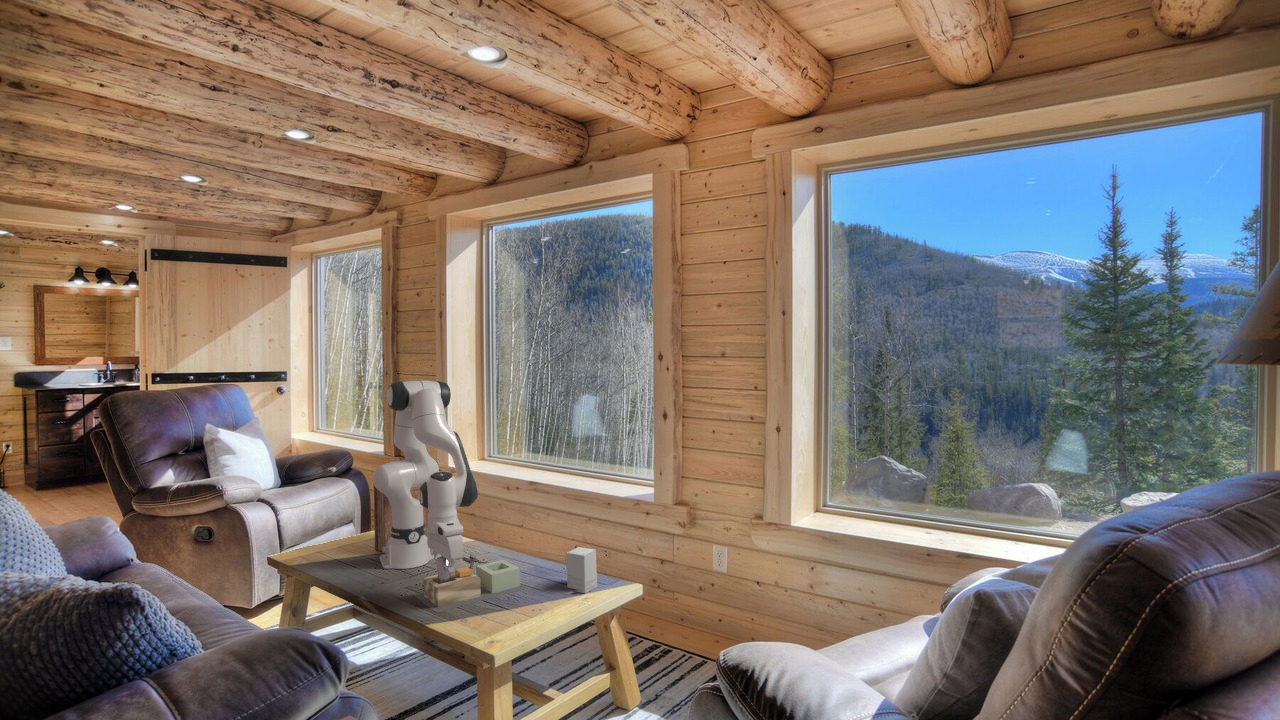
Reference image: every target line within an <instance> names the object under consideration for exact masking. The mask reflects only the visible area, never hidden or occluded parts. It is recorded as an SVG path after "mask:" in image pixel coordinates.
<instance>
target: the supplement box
mask: <svg viewBox="0 0 1280 720" xmlns="http://www.w3.org/2000/svg"><path fill="white" fill-rule="evenodd" d="M565 554H566V582H567V583H566V584H567V585H566V586H567V588H568V589H573V592H575V591H576V593H580V592H581V593H582V594H587V593H588V592H590V591H592V590H594V589H596V588H597V587H598V573H597V569H598V568H597V549H595V548H589V547H588V548H587V547H580V546H578V547H575V548H573V549H571V550H570V551H567V552H565ZM581 593H580V594H581Z"/></svg>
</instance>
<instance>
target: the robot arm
mask: <svg viewBox="0 0 1280 720" xmlns="http://www.w3.org/2000/svg"><path fill="white" fill-rule="evenodd" d="M451 394H452V393H451V389H450V386H449V384H448V383H446V382H444V381H440V380H439V381H438V380H437V381H434V380H426V379H425V380H423V379H421V380H420V379H419V380H409V381H402V380H401V381H395V382H392V383H391V384H390V385H389V386H388V389H387V391H386V401H387V404H388V407H389V408H390V409H391V410H393V411H396V413H395V418H394V419H395V420H394V430H393V431H394V433H393V443H394V446H395V447H396V448H397V449H398V450H400V451H402V452H404V458H403V459H402V460H396V461H389V462H387V463H383V464H381V465H379V466H377V467H376V468H375V470H374V472H373V474H372V483H373V487H374V486H375V487H376V489H377V490H379V491H380V492H382V493H383V494H384V495H385V496H386V497H387V498H388V500H389V502H390V505H391V510H392V524H393V526H392V528H391V538H390V539H389V540H388V542H387V543H386V547H382V551H383V552H382V551H381V552H382V554H381V555H379V561H380V563H381V566H382V568H383V569H384V570H385V569H395V570H396V569H399V570H401V569H402V570H403V569H413V568H417V567H421V566H424V565H426V564H428V563H429V562H430V561H432V560H433V559H434V561H435V565H437V558H438V557H440V556H443V557H445V558H447V561H448V566H447V571H448V572H453V571H455V563H456V561H457V560H460V559H461V558H462V555H463V536H462V534H463V533H464V526H463V525H462V524H461V522H460V520H459V518H458V511H457V507H459V508H462V507H463V508H465V507H467V508H468V507H471V506H472V505H473V504H474V503H475V502H476V500H477V499H478V497H479V496H478V495H479V489H478V484H477V482H476V480H475V478H474V475H473V472H472V469H471V467H470V464H469V461H468V458H467V454H466V451H465V448H464V446H463V443H462V440H461V438H460V435H459V433H458V432H457V431H454V430H452V429H451V427H450V425H449V424H448V422H447V416H446V408H447V407H448V406H449V405H450V403H451V400H452V399H451V398H452V395H451ZM427 447H431V448H434V449H439V450H442V451H444V452H446V453H448V455H450V456H451V458H452V461H453V465H454V467H455V471H456V474H457V476H456V477H455V476H454V474H453V473H451V472H447V471H442V472H439V470H440V468H439V464H438V462H437V461H436V460H435V459H434V458H433V457H432V456H431V455H430V454H429V452H428V450H427ZM420 486H421V487H420ZM415 487H420V501H419V500H418V499H415V498H413V497H412V496H411V492H410V488H415ZM423 507H425V508H426V509H429V515H428V519H429V527H428V532H427V536H425V524H424V521H423ZM431 551H432V553H433V554H431ZM385 553H386V554H385Z"/></svg>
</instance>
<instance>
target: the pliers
mask: <svg viewBox="0 0 1280 720" xmlns="http://www.w3.org/2000/svg"><path fill="white" fill-rule="evenodd" d="M463 560H464V561H465V562H468V563H469V564H470V563H471V564H470V566H469V568H470V569H471V570H473V568H472V567H474V566H473V565H475V563H476V562H478V563H477V564H481V563H485V564H486V563H488V562H487V561H481V560H479V559H478V558H476V557H474V556H473V555H469V558H468V557H465V556H463ZM474 562H475V563H474Z"/></svg>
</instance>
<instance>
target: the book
mask: <svg viewBox="0 0 1280 720" xmlns="http://www.w3.org/2000/svg"><path fill="white" fill-rule="evenodd" d="M439 472H443V470H442V469H439ZM420 487H421V486H420ZM420 487H415V488H410V492H411V496H412V497H413V498H415V499H418V500H419V501H420ZM373 513H374V514H373V516H374V519H373V520H374V551H375V550H378V551H380V552H382V553H383V551H382V547H386V543H387V542H388V540H389V539H390V538H391V528H392V526H393V524H392V510H391V505H390V502H389V500H388V498H387V497H386V496H385V495H384V494H383V493H382V492H380V491H379V490H377V489H376V487H375V486H374V485H373ZM428 515H429V509H426V508H425V507H423V521H424V524H425V536H427V532H428V527H429V519H428ZM384 554H386V553H384Z"/></svg>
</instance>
